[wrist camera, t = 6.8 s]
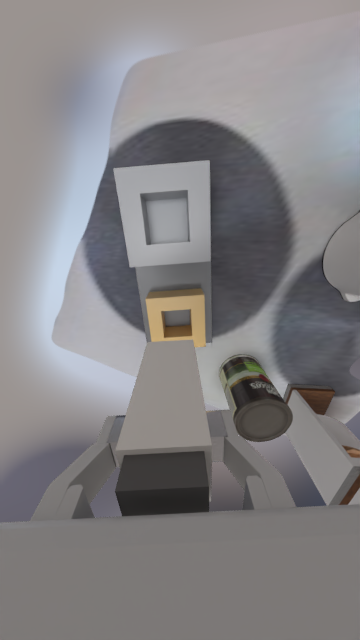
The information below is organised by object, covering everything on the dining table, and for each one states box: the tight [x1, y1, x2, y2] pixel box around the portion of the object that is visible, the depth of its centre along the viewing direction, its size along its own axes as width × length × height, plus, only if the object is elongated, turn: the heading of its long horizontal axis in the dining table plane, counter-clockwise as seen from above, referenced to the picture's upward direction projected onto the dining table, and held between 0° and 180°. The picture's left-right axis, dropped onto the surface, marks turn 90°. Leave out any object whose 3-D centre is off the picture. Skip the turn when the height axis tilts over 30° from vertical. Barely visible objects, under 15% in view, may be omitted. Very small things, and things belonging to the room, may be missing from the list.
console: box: [113, 160, 212, 347], centre depth 31 cm, size 14×30×14 cm, turn 4°
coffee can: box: [219, 355, 293, 442], centre depth 40 cm, size 10×10×14 cm
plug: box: [115, 340, 212, 516], centre depth 12 cm, size 4×4×10 cm
